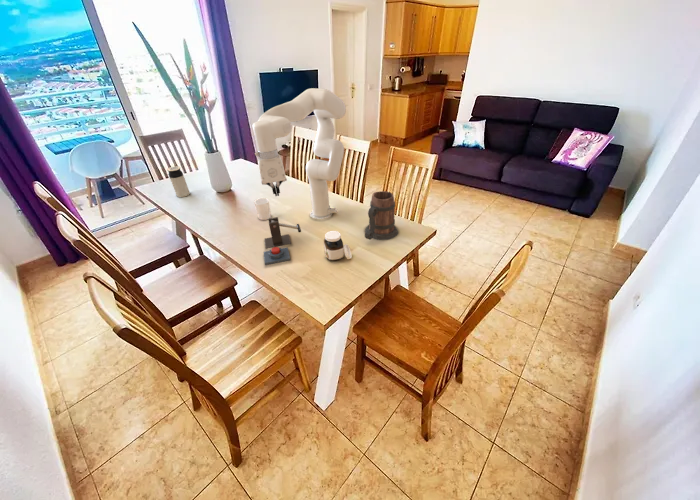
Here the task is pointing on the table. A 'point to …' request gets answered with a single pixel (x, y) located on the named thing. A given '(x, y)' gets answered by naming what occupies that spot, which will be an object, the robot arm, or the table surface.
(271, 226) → the bracket
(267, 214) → the white cup
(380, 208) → the tankard
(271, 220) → the tap lever
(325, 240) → the spread jar
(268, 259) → the button box
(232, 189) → the table surface
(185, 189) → the travel mug
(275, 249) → the red push button
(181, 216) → the table surface
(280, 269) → the table surface
